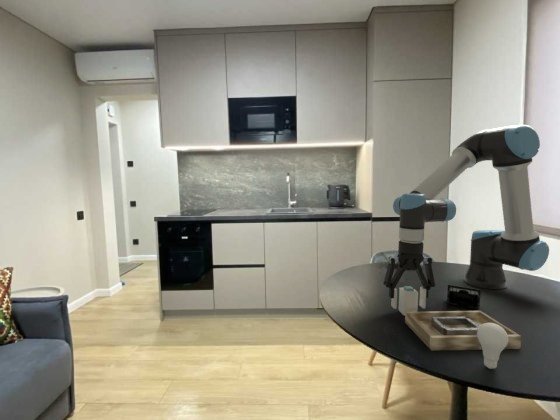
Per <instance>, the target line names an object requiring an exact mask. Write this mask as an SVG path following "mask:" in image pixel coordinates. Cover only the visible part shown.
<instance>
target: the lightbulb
mask: <svg viewBox="0 0 560 420" xmlns="http://www.w3.org/2000/svg"><path fill="white" fill-rule="evenodd" d="M477 337H478V340H479V342H480V344H481V346H482V349H483V350H482V355H483V364H484V366H485V367H487V368H488V369H489V370H493V369H497V367H498V361H499V359H500V356H501V353H502V351H503V350H505V349H504V348H505V347H506V346H507V344H508V335H507V333H506V331H505V330H504V329H503V328H502V327H501V326H499V325H497V324H495V323H484V324H482V325H481V326H480V327H479V328H478V331H477Z"/></svg>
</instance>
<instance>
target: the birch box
mask: <svg viewBox="0 0 560 420" xmlns="http://www.w3.org/2000/svg"><path fill="white" fill-rule="evenodd" d="M460 316H465V317H466V318H470V319H471V320H472V321H474V322H475V323H477V324H478V325H480V326H481V325H482V324H484V323H495V324H497V325H499V326H501V327H502V328H503V329H504V330H505V331H506V333H507V335H508V344H507V346H506V347H505V348H504V349H503V350H521V347H522V335H520V334H518V333H517V332H515V331H514V330H513V329H511V328H509V327H508V326H506V325H504V324H503V323H501V322H500V321H498V320H497V319H494V318H493V317H492V316H489V315H488V314H487V313H485V312H483V310H478V311H468V310H441V311H439V310H438V311H437V310H436V311H435V310H434V311H433V310H429V311H417V312H405V317H404V323H405V324H406V325H407V327H408V328H410V329H411V330H412V331H413V333H414V334H415V335H416V336H417V337H418V338H419V339H420V340H421V341H422V342H423V343H424V345H426V347H428V349H430V351H472V350H474V351H475V350H477V351H478V350H479V351H481V350H482V351H483V349H482V346H481V344H480V342H479V340H478V337H477V335H450V336H445V335H442V334H441V333H440V332H439V331H438V330H436V329H435V328H434V327H433V326H432V323H431V322H432V317H460ZM444 326H445V327H446V328H469V327H467V326H466V325H444Z"/></svg>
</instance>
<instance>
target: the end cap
mask: <svg viewBox="0 0 560 420" xmlns="http://www.w3.org/2000/svg"><path fill="white" fill-rule="evenodd" d="M481 291H482V290H481V289H479V288H473V287H467V286H462V285H461V286H460V285H453V284H448V285H447V297H446V301H447V307H448V308H453V309H458V310H461V311H479V307H481V306H480V303H481Z"/></svg>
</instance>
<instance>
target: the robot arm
mask: <svg viewBox="0 0 560 420" xmlns="http://www.w3.org/2000/svg"><path fill="white" fill-rule="evenodd" d="M540 142H541V141H540V137H539V135H538V132H537V131H536V130H535V129H534V128H533V127H532V126H531V125H527V124H517V125H508V126H503V127H497V128H491V129H483V130H481V131H479V132H476V133H475V134H473V135H470V137H468V138H467V139H465V140H464V141H462V142H461V143H460V144H459V145H457V147H455V148H454V149H453V151H452V152H451V155H450V156H449V157H448V158H447V159H446V160H445V161H443V162H442V163H441V164H440V165H439V166H438V167H437V168H436V169H435V170H434V171H432V173H430V174H429V175H428V176H427V177H426V178H425V179H423V181H421V183H419V184H418V185H417V186H416V187H415V188H413V190H412V191H410V192H409V193H403V194H402V195H401V196H398V197H396V198H395V199H394V201H393V203H392V208H393V209H392V210H393V211H394V213H395V214H396V215H398V216H399V230H398V238H399V240H398V246H397V247H398V248H397V250H398V254H397V255H396V256H394V257H393V256H389V257H388V266H387V268H386V272H385V276H384V279H383V282H382V283H383V285H384V286H385V287H386V288H387V289H388V297H389V298H390V299H391V300H390V301H391V302H390V306H391V307H392V308H393V310H397V303H398V302H397V300H398V289H397V288H396V287H397V285H398V283H399V282H400V280H401V278H402V276H403V275H404V273H405V272H406V270H410V269H415V270H414V271H415V272H416V274H417V276H418V278H419V281H420V283H421V285H422V286H420V287H419V299H418V306H420V307H421V308H422V309H426V304H427V303H426V302H427V299H428V298H429V291H430V290H431V289H432V288H435V286H436V282H435V278H434V271H433V267H432V266H433V264H432V263H433V258H432V257H430V256H424V255H423V253H424V240H425V223H432V222H433V223H434V222H435V223H437V222H442V223H443V222H448V221H451V220H453V219H454V218H455V216H456V214H457V207H456V204H455V203H454V201H453V200H451V199H448V198H447V199H446V198H437V196H438V195H440V193H442V192H443V191H444V190H445V189H446V188H447V187H448V186H450V184H452V183H453V182H454V181H455V180H457V178H458V177H459V176H460V175H462V174H463V172H465V171H466V170H467V169H470V168H473V167H474V166H475V165H477V164H478V163H481V162H486V161H491V163H492V168H493V169H495V170H496V171H498V181H499V187H500V188H499V189H500V191H499V192H500V199H501V200H500V201H501V206H502V207H501V208H502V215H503V224H504V225H503V227H504V230H502V229H486V230H485V229H484V230H483V229H482V230H481V229H479V230H474V231H473V232H472V235H471V239H470V255H469V258H470V259H469V265H468V268H467V269H466V272H465V273H464V276H463V277H464V280H463V281H464V282H465V283H466V284H468V285H471V286H474V287H477V288H482V289H489V290H501V289H502V290H504V289H506V288H507V278H506V276H505V272H504V268H503V266H504V265H505V266H509V267H513V268H516V269H519V270H525V271H529V272H534V271H537V270H540V269H541V268H542V267H543V266H544V265H545V264H546V262H547V261H548V258H549V255H550V246H549V244H548V243H547V242H546V241H543V240H540V234H539V233H540V232H538V231H536V230H535V229H534V222H533V213H532V201H531V192H530V179H529V170H528V169H529V168H528V167H529V165H530V164H531V163H532V162H533V158H534V157H536V156H537V154H538V153H539V149H540V147H541V143H540ZM398 261H399V262H398ZM422 262H423V266H424V270H425V273H424V271H423V267H422V268H421V266H420V264H421V263H422ZM397 263H398V266H397V269H396V271H395V268H396V264H397ZM399 263H400V264H399ZM394 272H395V273H394ZM425 274H426V276H425Z"/></svg>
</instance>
